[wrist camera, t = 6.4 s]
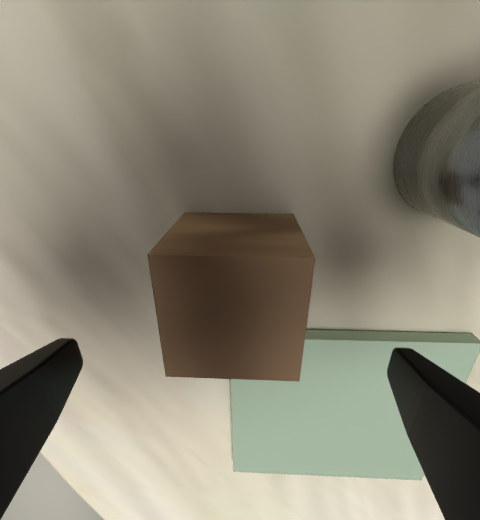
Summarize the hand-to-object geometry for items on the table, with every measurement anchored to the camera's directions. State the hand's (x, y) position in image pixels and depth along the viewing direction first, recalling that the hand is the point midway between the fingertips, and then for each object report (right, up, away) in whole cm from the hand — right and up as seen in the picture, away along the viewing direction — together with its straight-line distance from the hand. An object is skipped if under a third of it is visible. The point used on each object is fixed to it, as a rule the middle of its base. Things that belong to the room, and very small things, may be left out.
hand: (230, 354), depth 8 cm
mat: (+6, -7, +10) cm, 13 cm away
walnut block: (0, +3, +6) cm, 7 cm away
